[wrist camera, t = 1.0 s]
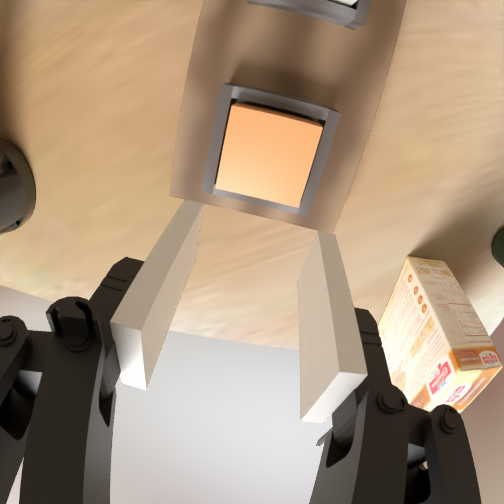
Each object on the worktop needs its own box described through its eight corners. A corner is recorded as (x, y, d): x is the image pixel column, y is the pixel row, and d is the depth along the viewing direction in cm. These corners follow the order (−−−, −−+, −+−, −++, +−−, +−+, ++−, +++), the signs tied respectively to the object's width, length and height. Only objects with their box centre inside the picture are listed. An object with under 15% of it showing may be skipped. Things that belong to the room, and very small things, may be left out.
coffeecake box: (410, 332, 46) (439, 433, 30) (373, 331, 46) (396, 439, 30) (446, 259, 38) (506, 366, 21) (406, 254, 38) (460, 371, 22)
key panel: (180, 182, 35) (156, 212, 29) (240, -83, 17) (229, -116, 10) (327, 217, 36) (337, 254, 29) (402, -41, 17) (431, -63, 11)
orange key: (221, 176, 27) (215, 188, 25) (236, 101, 24) (231, 105, 21) (296, 194, 28) (298, 207, 25) (318, 121, 24) (322, 127, 21)
